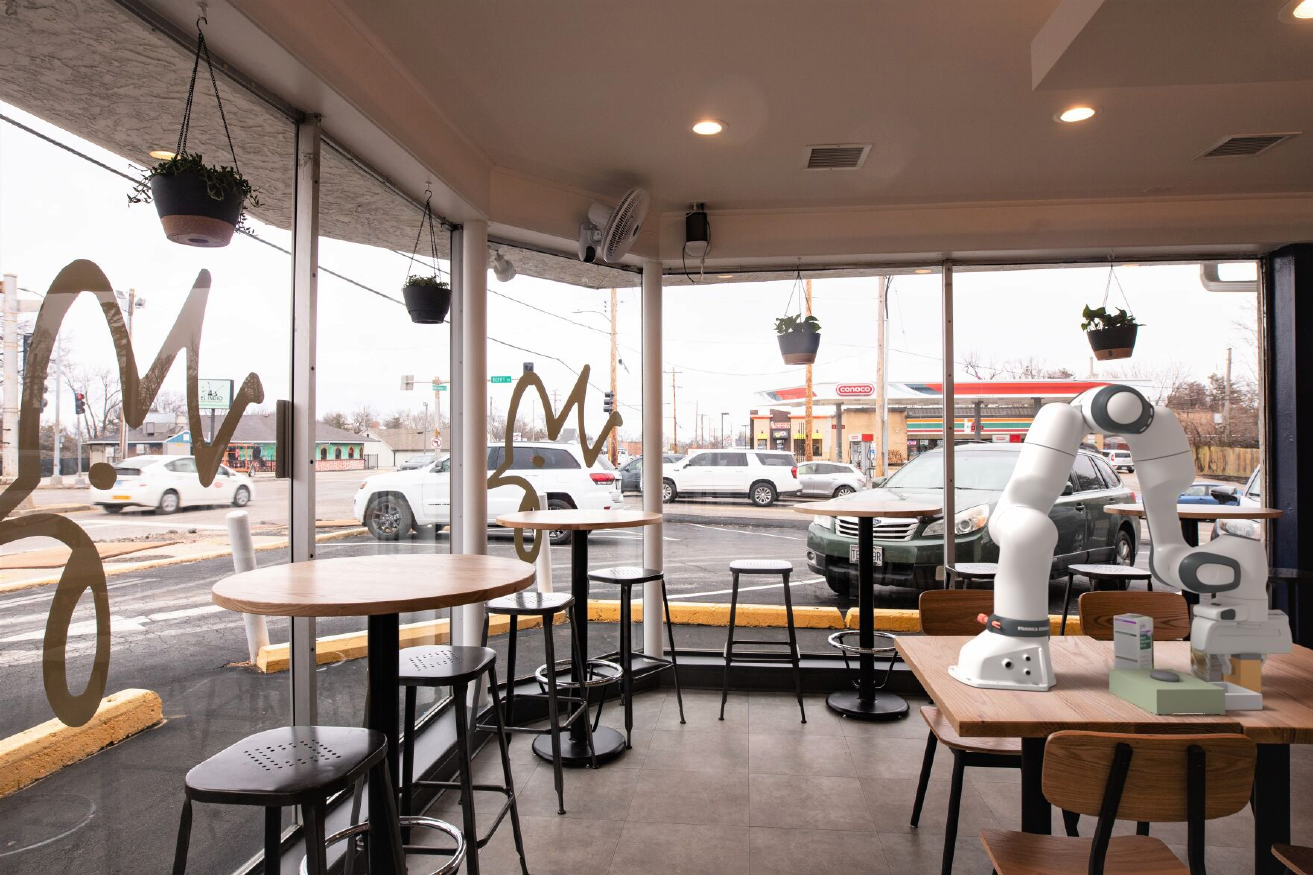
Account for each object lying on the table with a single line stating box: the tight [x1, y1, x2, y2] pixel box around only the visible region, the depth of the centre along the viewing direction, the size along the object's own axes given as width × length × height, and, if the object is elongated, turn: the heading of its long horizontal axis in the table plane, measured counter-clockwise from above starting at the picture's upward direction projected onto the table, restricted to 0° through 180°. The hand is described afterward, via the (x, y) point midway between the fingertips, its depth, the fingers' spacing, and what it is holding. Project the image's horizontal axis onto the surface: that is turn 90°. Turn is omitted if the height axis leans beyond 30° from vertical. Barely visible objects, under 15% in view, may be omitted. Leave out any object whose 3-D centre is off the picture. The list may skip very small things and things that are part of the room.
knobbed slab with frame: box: [1108, 668, 1264, 716], centre depth 153 cm, size 24×14×6 cm, turn 93°
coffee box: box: [1189, 604, 1224, 682], centre depth 171 cm, size 9×6×16 cm
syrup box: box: [1113, 613, 1155, 669], centre depth 169 cm, size 6×6×14 cm
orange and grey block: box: [1224, 654, 1262, 694], centre depth 160 cm, size 5×5×9 cm
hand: (1242, 674), depth 160 cm, fingers closed on orange and grey block, 4 cm apart
